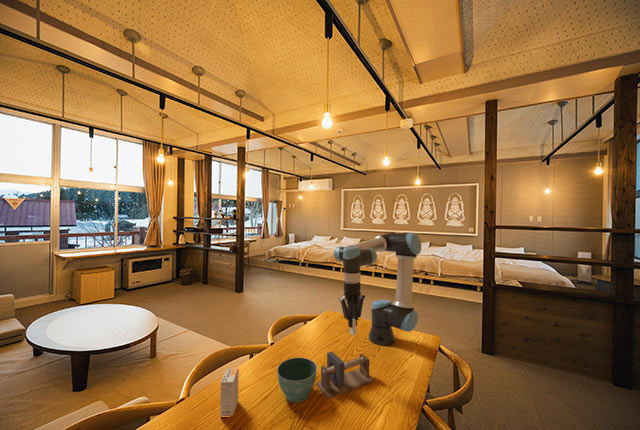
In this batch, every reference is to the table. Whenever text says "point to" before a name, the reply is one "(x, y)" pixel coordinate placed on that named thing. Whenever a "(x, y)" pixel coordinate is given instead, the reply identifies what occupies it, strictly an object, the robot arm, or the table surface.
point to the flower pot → (297, 378)
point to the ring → (339, 364)
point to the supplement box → (229, 392)
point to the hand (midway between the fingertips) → (352, 333)
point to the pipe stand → (345, 377)
